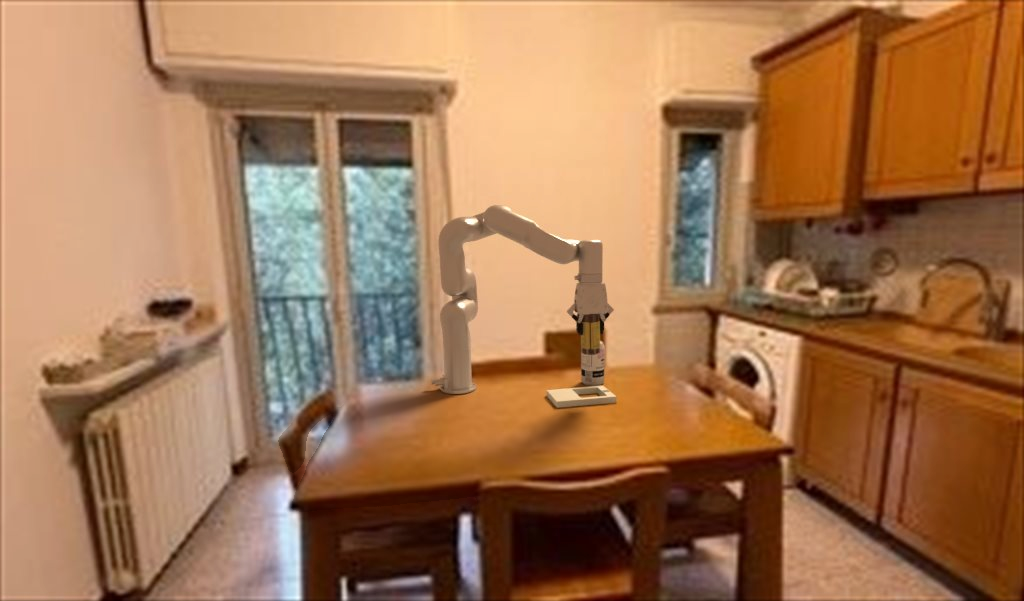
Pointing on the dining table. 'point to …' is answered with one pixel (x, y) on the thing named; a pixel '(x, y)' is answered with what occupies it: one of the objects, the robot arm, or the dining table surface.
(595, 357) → the supplement can
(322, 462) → the dining table surface
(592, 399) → the board
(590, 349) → the sauce bottle
